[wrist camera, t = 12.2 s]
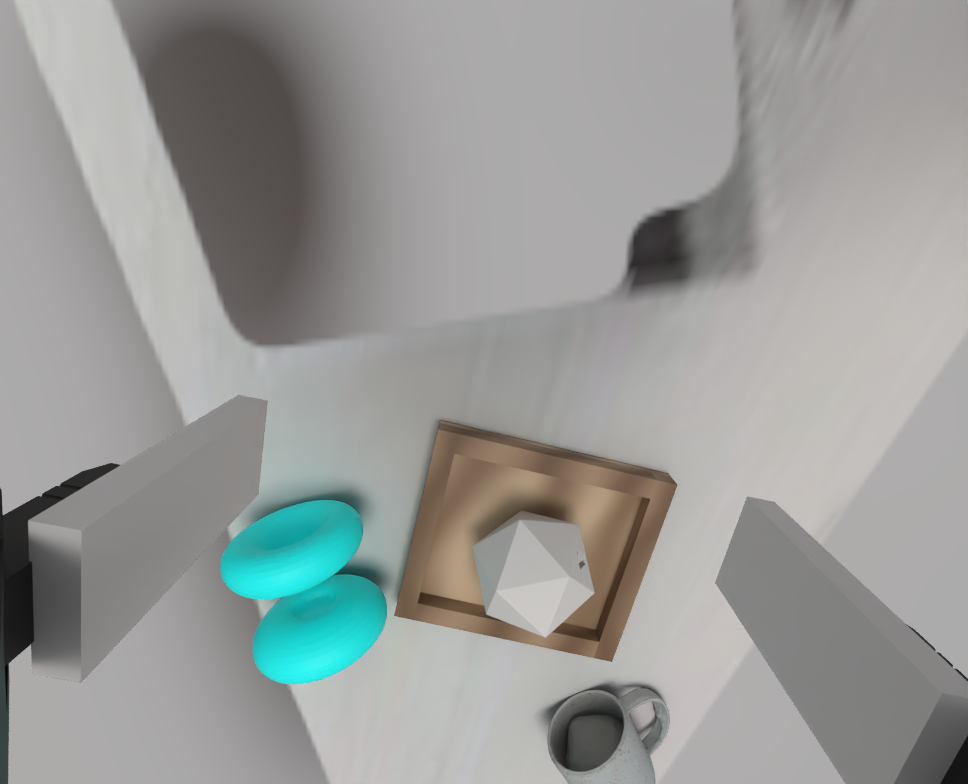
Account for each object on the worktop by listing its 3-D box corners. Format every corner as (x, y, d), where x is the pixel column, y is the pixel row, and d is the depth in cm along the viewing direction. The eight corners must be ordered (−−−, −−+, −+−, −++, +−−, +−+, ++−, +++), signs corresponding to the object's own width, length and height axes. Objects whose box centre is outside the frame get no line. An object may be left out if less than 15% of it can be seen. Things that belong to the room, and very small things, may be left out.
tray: (668, 473, 43) (677, 485, 41) (606, 643, 47) (611, 661, 45) (440, 420, 42) (438, 429, 40) (398, 599, 46) (394, 615, 44)
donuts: (288, 609, 47) (236, 705, 37) (251, 506, 44) (185, 580, 34) (400, 589, 46) (377, 680, 36) (369, 483, 43) (336, 551, 34)
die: (555, 597, 46) (632, 617, 38) (466, 632, 42) (529, 663, 34) (534, 502, 47) (604, 500, 38) (444, 527, 43) (501, 532, 34)
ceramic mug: (579, 767, 51) (596, 851, 44) (541, 708, 49) (551, 786, 42) (678, 723, 50) (712, 803, 43) (642, 661, 48) (671, 734, 41)
